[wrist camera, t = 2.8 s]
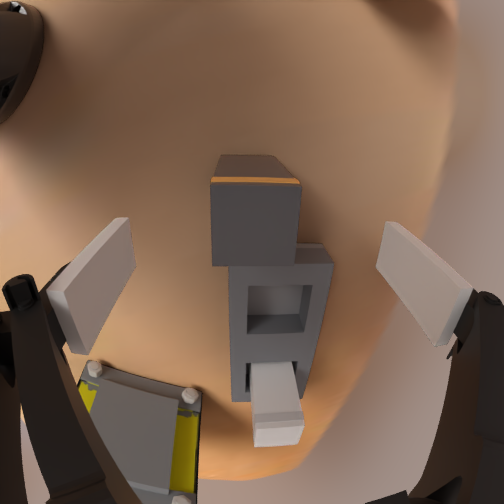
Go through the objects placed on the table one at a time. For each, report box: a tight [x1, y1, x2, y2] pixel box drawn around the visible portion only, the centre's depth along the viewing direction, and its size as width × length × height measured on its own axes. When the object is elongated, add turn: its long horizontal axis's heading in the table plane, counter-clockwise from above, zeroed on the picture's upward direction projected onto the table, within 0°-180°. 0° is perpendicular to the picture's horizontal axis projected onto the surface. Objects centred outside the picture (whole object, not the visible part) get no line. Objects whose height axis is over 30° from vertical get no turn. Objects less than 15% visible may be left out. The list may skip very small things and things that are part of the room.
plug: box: [210, 155, 302, 266], centre depth 20 cm, size 5×5×11 cm
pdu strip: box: [229, 243, 334, 402], centre depth 30 cm, size 20×9×4 cm, turn 178°
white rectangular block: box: [249, 361, 305, 447], centre depth 29 cm, size 5×5×11 cm
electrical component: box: [77, 360, 203, 504], centre depth 28 cm, size 18×10×20 cm, turn 71°
